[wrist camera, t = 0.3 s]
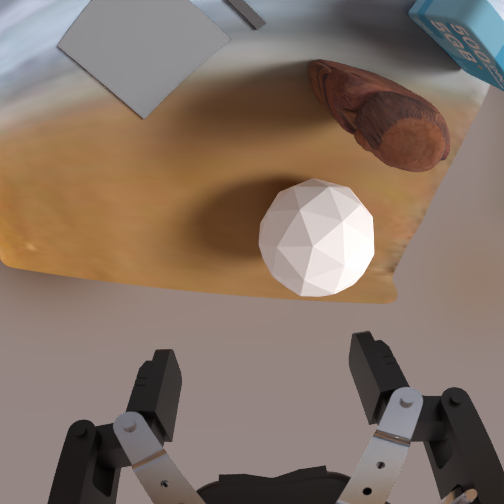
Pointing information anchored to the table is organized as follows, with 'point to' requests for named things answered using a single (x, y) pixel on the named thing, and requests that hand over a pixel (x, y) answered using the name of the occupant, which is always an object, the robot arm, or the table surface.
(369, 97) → the wooden figurine
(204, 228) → the table surface
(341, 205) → the geometric sphere
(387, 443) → the robot arm
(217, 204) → the table surface
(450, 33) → the data package
